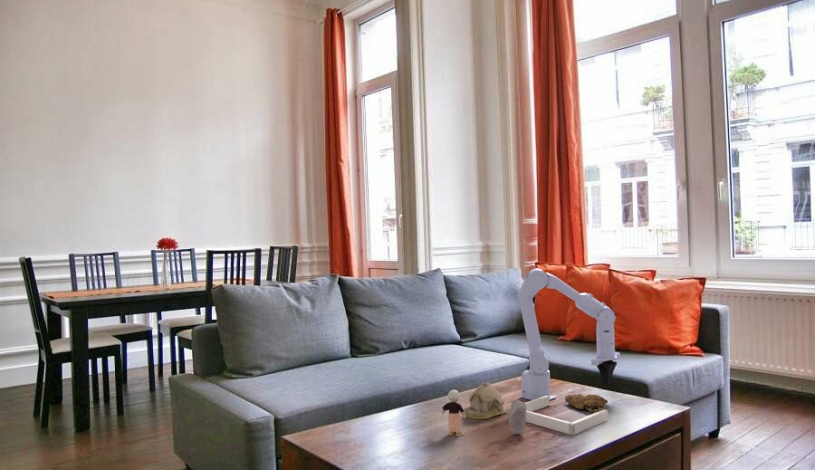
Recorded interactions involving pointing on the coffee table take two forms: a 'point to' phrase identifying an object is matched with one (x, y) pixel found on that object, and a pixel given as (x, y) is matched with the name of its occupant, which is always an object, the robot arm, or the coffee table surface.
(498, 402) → the ceramic model
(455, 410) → the grandmother figurine
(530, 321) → the robot arm
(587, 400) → the decorative rock
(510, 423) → the fossil
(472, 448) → the coffee table surface
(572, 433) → the box
